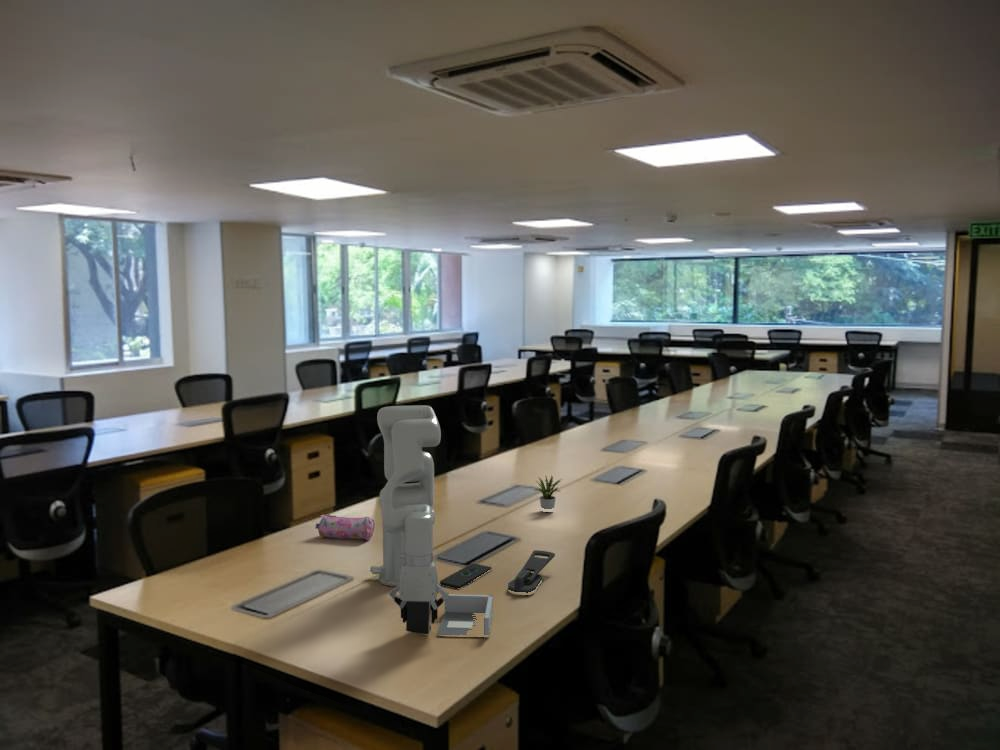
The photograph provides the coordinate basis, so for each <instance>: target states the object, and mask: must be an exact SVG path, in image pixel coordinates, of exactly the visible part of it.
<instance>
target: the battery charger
mask: <svg viewBox="0 0 1000 750" xmlns="http://www.w3.org/2000/svg"><path fill="white" fill-rule="evenodd" d="M431 609H432V605H431V603H430V602H409V601H407V602H406V622H405V624H406V626H405V631H406V632H409V633H415V634H420V635H429V634H430V633H431V630H432V626H431Z"/></svg>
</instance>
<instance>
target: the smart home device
mask: <svg viewBox="0 0 1000 750" xmlns="http://www.w3.org/2000/svg"><path fill="white" fill-rule="evenodd" d="M490 569H491V570H492V566H489V565H483V564H479V563H470V564H467V566H465V567H463V568H461V569H459V570H457V571H456V572H454V573H452V574H450V575H448V576H447V577H445V578H442V579H441V580H439V585H440V584H441V585H440V586H442V585H444V586H443V587H446V586H450V587H449V588H451V587H454V588H453V589H455V588H461V587H463V586H465V585H467V584H468V583H470V582H471V581H473V580H474V579H476V578H477V577H479V576H481V575H482V574H484V573H485V572H487V571H488V570H490ZM470 584H471V583H470ZM468 585H469V584H468ZM468 585H467V586H468ZM465 587H466V586H465ZM463 588H464V587H463Z"/></svg>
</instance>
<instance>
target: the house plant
mask: <svg viewBox="0 0 1000 750" xmlns="http://www.w3.org/2000/svg"><path fill="white" fill-rule="evenodd" d="M537 478H538V480H539V481H537V480H534V481H535V482H537V484H538V485H539V487H540V488H538V489H537V488H535V489H534V491H539V492H541V494H542V495H541V496H540V497H539V502H540V503H539V504H540V508H541V507H542V508H544V509H552V508H554V509H555V504H556V499H557V498H556V497H557V496H554V493H556V492H559V493H561V490H559V489H558V488H559V486H558V487H556V486H557V485H559V483H561V481H563V478H560V479H558V480H557V481H555V482H554V476H553V475H551V476H550V479H549V480H548V477H547V475H546V474H545V479H544V481H545V483H544V481H543V480H542V478H541V477H539V476H537ZM539 482H540V483H539ZM553 482H554V483H553Z"/></svg>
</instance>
